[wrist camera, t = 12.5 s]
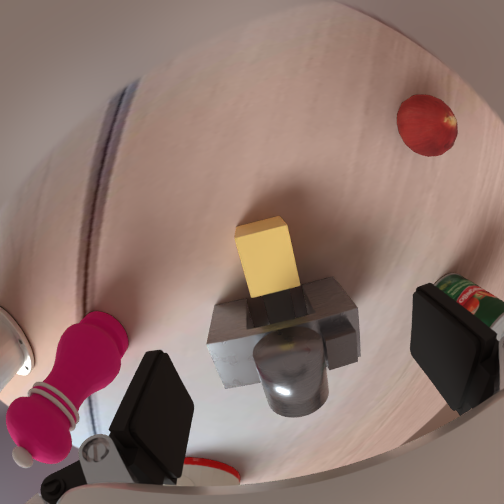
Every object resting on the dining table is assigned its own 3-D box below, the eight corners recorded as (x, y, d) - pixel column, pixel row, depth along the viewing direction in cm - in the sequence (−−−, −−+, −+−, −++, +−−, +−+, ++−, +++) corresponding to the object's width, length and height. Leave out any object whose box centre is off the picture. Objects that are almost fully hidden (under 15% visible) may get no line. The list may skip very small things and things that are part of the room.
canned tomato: (431, 339, 30) (476, 388, 19) (413, 302, 28) (469, 352, 17) (470, 300, 28) (520, 338, 18) (457, 259, 27) (519, 293, 16)
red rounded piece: (428, 112, 22) (477, 102, 14) (425, 162, 23) (477, 164, 16) (383, 95, 22) (429, 74, 14) (380, 149, 23) (429, 144, 15)
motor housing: (228, 345, 28) (222, 430, 17) (214, 305, 27) (198, 386, 16) (338, 318, 28) (381, 392, 17) (332, 276, 26) (383, 341, 15)
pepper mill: (88, 294, 26) (-26, 414, 7) (141, 330, 28) (61, 484, 8) (74, 336, 28) (-12, 447, 9) (122, 368, 29) (58, 498, 10)
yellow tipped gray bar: (281, 387, 30) (285, 414, 26) (236, 226, 25) (234, 238, 20) (313, 379, 30) (321, 405, 26) (279, 215, 25) (287, 224, 20)
